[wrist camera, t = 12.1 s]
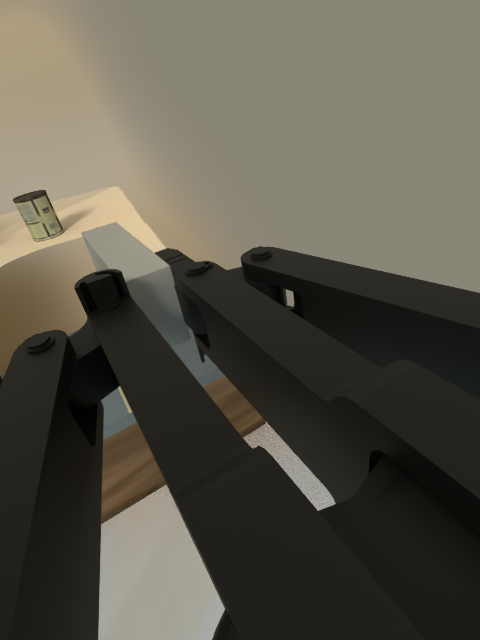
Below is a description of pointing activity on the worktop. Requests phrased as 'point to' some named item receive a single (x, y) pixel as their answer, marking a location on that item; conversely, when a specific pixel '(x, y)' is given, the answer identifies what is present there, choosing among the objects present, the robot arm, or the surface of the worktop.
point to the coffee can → (39, 215)
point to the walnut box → (138, 462)
